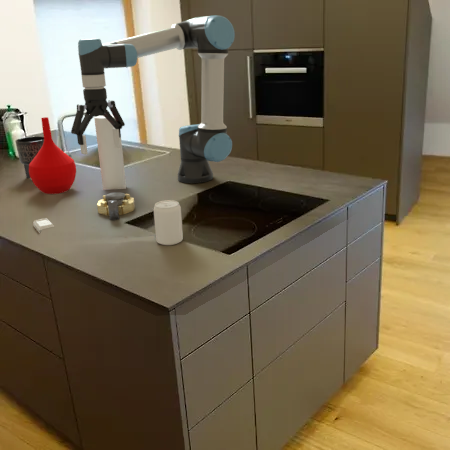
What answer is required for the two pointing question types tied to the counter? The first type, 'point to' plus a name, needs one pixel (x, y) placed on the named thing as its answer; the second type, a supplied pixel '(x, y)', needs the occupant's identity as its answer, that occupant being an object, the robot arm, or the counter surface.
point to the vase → (51, 166)
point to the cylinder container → (109, 156)
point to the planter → (28, 150)
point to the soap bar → (42, 224)
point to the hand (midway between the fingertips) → (101, 150)
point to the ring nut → (115, 207)
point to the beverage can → (168, 222)
